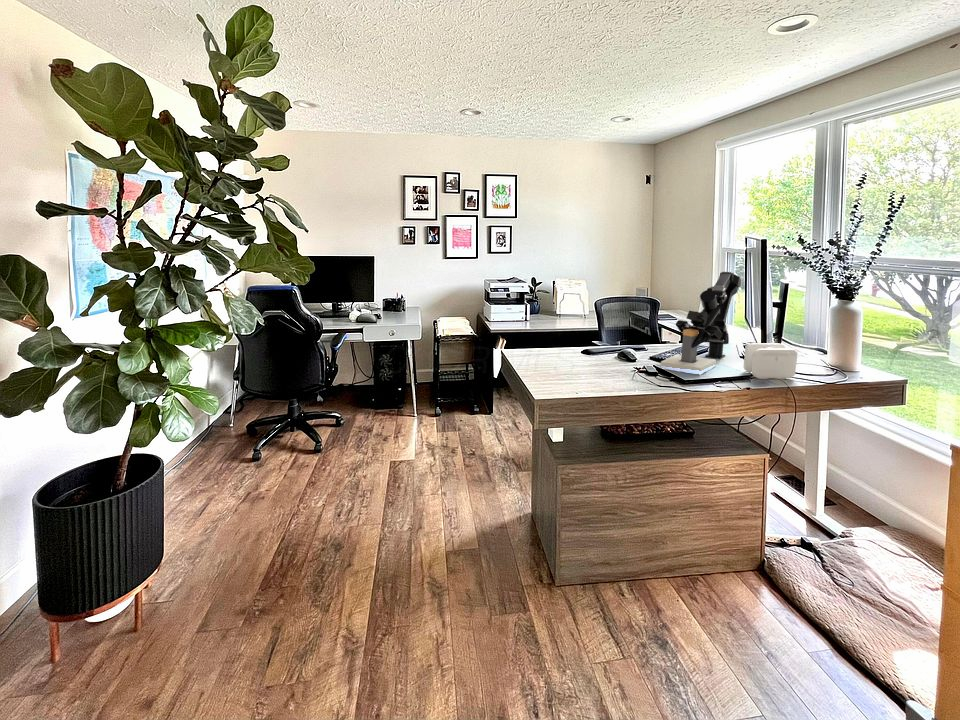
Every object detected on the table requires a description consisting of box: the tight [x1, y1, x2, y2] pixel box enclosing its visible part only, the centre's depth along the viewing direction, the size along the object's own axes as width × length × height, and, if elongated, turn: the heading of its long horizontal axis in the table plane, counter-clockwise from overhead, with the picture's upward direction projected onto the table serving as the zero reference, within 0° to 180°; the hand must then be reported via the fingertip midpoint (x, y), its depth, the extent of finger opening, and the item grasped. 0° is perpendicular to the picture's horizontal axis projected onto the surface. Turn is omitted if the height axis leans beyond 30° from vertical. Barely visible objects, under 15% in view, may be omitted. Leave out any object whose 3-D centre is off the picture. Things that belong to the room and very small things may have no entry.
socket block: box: [660, 353, 717, 371], centre depth 225 cm, size 16×16×3 cm
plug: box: [681, 329, 699, 363], centre depth 223 cm, size 4×4×13 cm
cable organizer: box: [743, 342, 798, 380], centre depth 211 cm, size 15×11×12 cm
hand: (687, 346), depth 223 cm, fingers closed on plug, 4 cm apart
